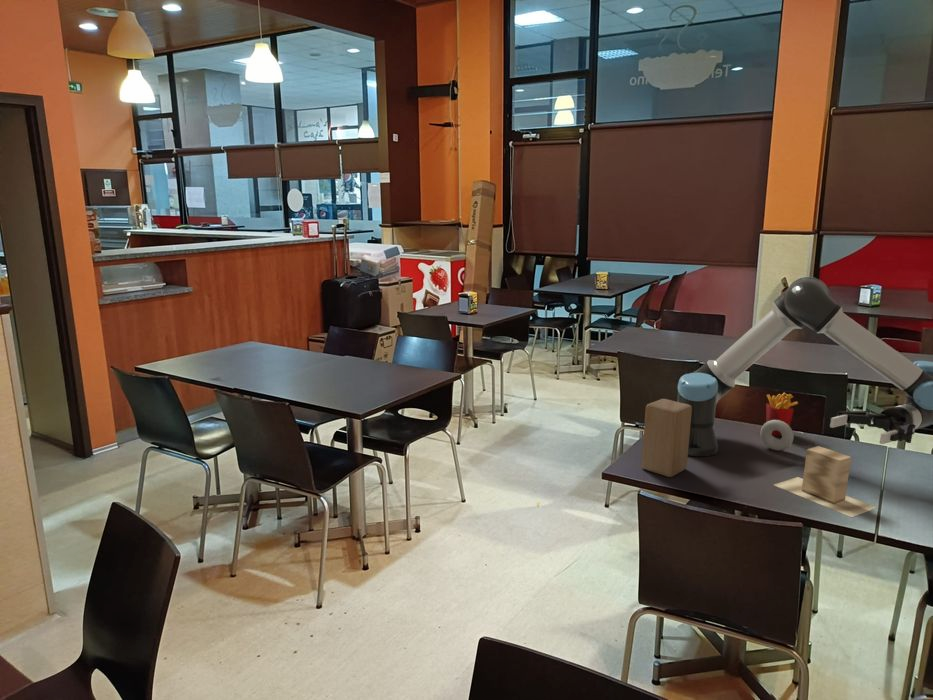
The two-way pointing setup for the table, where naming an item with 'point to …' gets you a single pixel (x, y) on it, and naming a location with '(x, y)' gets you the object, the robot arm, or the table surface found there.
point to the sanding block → (826, 474)
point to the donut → (783, 429)
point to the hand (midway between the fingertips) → (855, 430)
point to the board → (845, 507)
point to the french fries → (780, 410)
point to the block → (666, 437)
